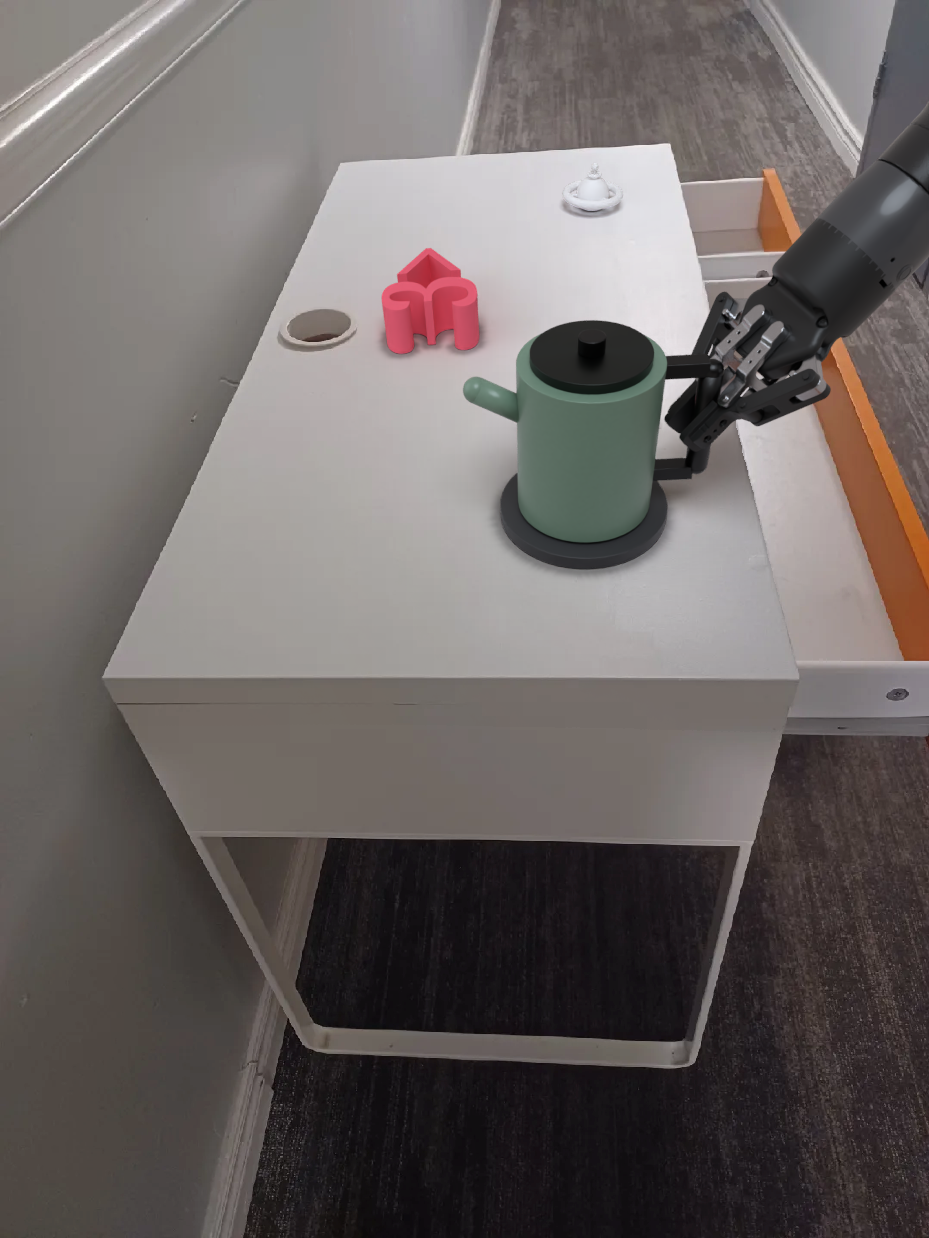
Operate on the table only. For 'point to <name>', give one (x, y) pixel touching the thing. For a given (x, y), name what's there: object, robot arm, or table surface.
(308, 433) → the table surface
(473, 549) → the table surface
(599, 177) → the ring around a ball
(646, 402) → the kettle
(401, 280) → the pink curled block
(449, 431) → the table surface
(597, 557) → the kettle base
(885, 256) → the robot arm
